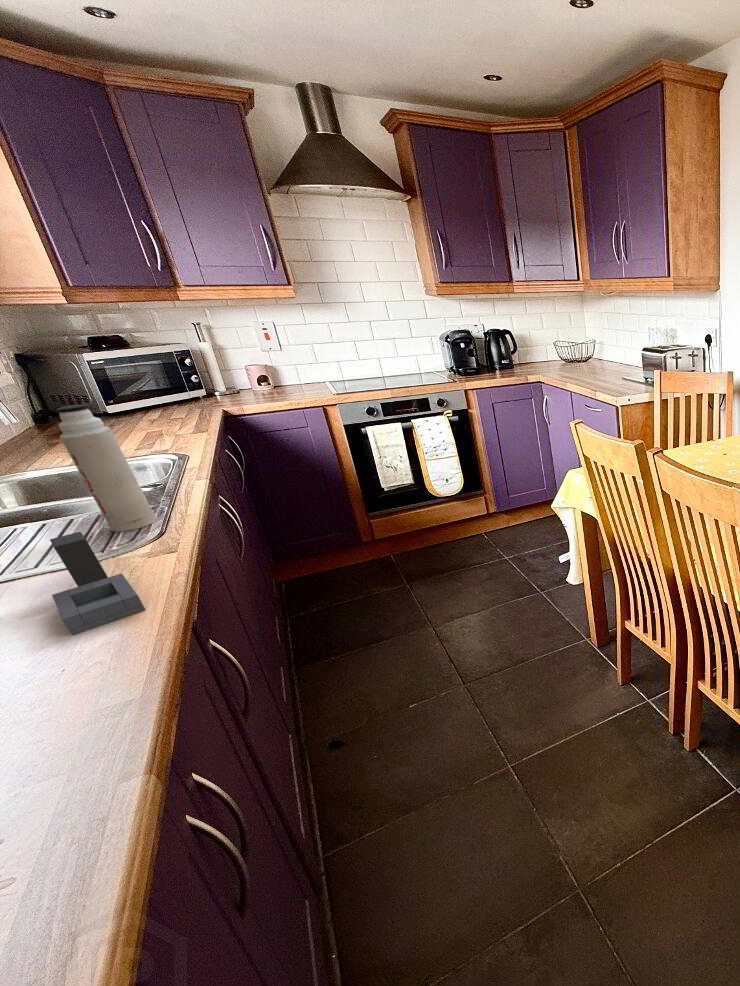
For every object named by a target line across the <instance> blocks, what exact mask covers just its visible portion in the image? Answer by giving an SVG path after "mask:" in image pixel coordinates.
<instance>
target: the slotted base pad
mask: <svg viewBox="0 0 740 986" xmlns="http://www.w3.org/2000/svg"><path fill="white" fill-rule="evenodd" d="M51 596H52V598H53V600H54V603H55V605H56V607H57V610H58V612H59V615H60V618H61V619H62V621H63V623H64V625H65V626H66V627H67V629H68V631H69V632H70V634H71V635H72V636H74V635H77V634H80V633H83V632H86V631H88V630H92V629H95V628H97V627H101V626H103V625H106V624H109V623H112V622H115V621H117V620H121V619H124V618H127V617H129V616H132V615H136V614H138V613H141V612H144V611H146V608H145V606H144V603H143V601H142V600H141V598H140V596H139V595H138V594H137V592H136V591H135V590H134V588H133V587H132V586H131V584H130V583H129V581H128V579H127V578H126V577H125V576H124V575H123V573H118V574H115V575H112V576H108V578H105V579H102V580H99V581H95V582H92V583H89V584H86V585H82V586H79V587H78V586H76V587H73V588H70V589H66V590H63V591H60V592H57V593H53V594H52V595H51Z"/></svg>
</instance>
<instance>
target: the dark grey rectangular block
mask: <svg viewBox="0 0 740 986" xmlns="http://www.w3.org/2000/svg"><path fill="white" fill-rule="evenodd" d="M49 541H50V543H51V545H52V547H53V549H54V551H56V553H57V555H58V556H59V558H60V560H61V561H62V563H63V565H64V566H65V568H66V569H67V571H68V573H69V575H70V576H71V578H72V580H73V581H74V583H75V585H76V587H79V586H82V585H86V584H89V583H92V582H95V581H99V580H102V579H105V578H108V577H109V576H108V575H107V573H106V571H105V570H104V568H103V566H102V565H101V563H100V561H99V559H98V558H97V556H96V554H95V553H94V551H93V549H92V547H91V546H90V544H89V542H88V539H86V537H85V535H84V534H83V533H82V531H77V532H72V533H69V534H65V535H61V536H57V537H53V538H50V539H49Z"/></svg>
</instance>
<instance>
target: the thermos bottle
mask: <svg viewBox="0 0 740 986" xmlns="http://www.w3.org/2000/svg"><path fill="white" fill-rule="evenodd" d="M55 410H56V412H57V413H58V414H59V418H60V420H61V422H60V423H59V424H58V428H59V431H61V433H62V434H61V435H59V438H60V440H61V442H62V444H63V446H64V448H65V449H66V451H67V452H68V454H69V456H70V458H71V460H72V461H73V464H74V465H75V467H76V469H77V470H78V472H79V474H80V476H81V478H82V480H83V482H84V483H85V485H86V487H87V488H88V490H89V492H90V494H91V496H92V498H93V500H94V502H95V503H96V506H97V507H98V509H99V510H100V512H101V514H102V516H103V517H104V519H105V521H106V523H107V525H108V526H109V528H110V530H111V531H112V532H113V533H114V532H117V533H120V532H128V531H133V530H137V529H140V528H144V527H147V526H150V525H152V524H154V523H155V522H156V521H157V517H156V515H155V512H154V511H153V509H152V507H151V505H150V503H149V501H148V500H147V498H146V495H145V494H144V492H143V490H142V489H141V487H140V485H139V483H138V481H137V478H136V476H135V474H134V472H133V470H132V468H131V467H130V465H129V462H128V460H127V459H126V457H125V454H124V453H123V451H122V449H121V446H120V445H119V443H118V441H117V439H116V438H115V435H114V433H113V432H112V429H111V428H110V427H109V426H105V425H104V424H105V423H104V422H103V420H102V419H101V418H100V417H96V416H94V415H93V413H92V411H91V410H90V405H88V404H85V403H84V404H73V405H65V406H62V407H58V408H56V409H55Z"/></svg>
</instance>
